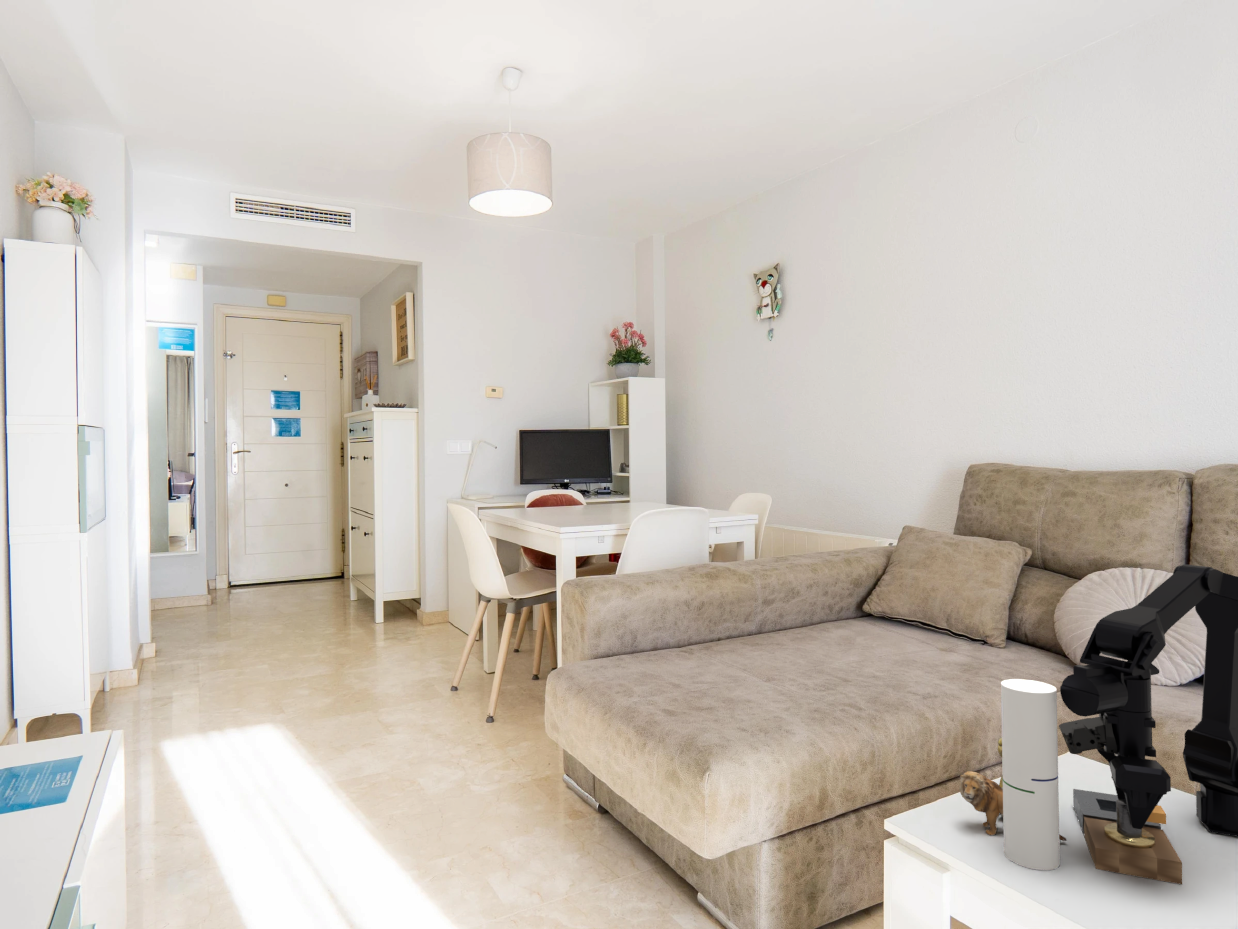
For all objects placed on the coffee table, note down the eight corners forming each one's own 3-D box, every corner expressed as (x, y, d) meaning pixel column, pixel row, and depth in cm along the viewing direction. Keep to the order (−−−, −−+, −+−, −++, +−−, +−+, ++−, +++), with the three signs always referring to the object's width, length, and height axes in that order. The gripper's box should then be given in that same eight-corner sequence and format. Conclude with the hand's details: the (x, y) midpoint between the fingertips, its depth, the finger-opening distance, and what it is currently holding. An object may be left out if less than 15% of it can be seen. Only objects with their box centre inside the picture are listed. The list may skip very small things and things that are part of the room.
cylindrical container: (1068, 872, 103) (1064, 694, 103) (1012, 867, 104) (1009, 691, 105) (1048, 847, 110) (1045, 680, 110) (997, 842, 111) (994, 678, 112)
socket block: (1145, 817, 119) (1145, 799, 119) (1161, 846, 110) (1160, 826, 110) (1073, 806, 123) (1073, 788, 123) (1083, 833, 114) (1082, 814, 114)
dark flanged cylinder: (1149, 853, 108) (1148, 798, 108) (1160, 874, 102) (1159, 816, 102) (1101, 845, 110) (1100, 792, 110) (1109, 864, 105) (1108, 808, 105)
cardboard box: (1161, 815, 111) (1160, 805, 111) (1166, 824, 108) (1166, 814, 108) (1137, 812, 112) (1137, 802, 112) (1141, 820, 109) (1141, 810, 109)
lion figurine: (960, 834, 114) (959, 776, 114) (958, 819, 119) (958, 764, 119) (1070, 852, 108) (1068, 791, 109) (1063, 835, 113) (1062, 777, 114)
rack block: (1163, 849, 109) (1162, 829, 109) (1182, 884, 100) (1181, 862, 100) (1084, 836, 113) (1083, 817, 113) (1095, 868, 104) (1095, 847, 104)
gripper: (1055, 683, 118) (1056, 780, 118) (1072, 719, 101) (1074, 832, 101) (1137, 691, 114) (1139, 792, 114) (1170, 730, 97) (1173, 848, 97)
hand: (1129, 814), depth 106 cm, fingers open, 9 cm apart
